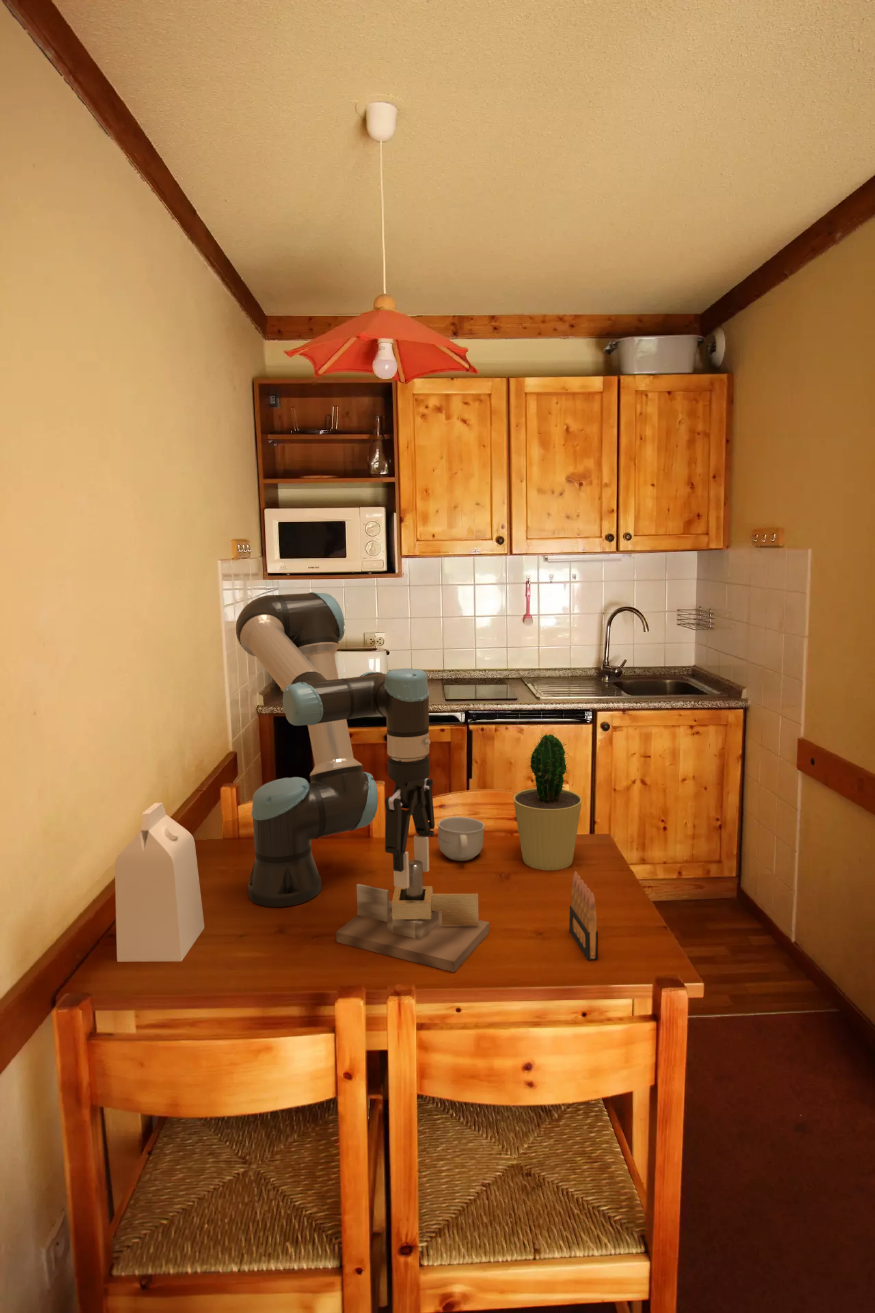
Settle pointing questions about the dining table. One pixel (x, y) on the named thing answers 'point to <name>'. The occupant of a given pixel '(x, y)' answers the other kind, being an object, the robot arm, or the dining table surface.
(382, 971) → the dining table surface
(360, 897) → the hinge base
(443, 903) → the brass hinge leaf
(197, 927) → the milk
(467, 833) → the teacup
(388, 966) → the dining table surface
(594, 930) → the ammunition clip
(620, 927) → the dining table surface
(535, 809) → the potted cactus
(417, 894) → the hinge pin
